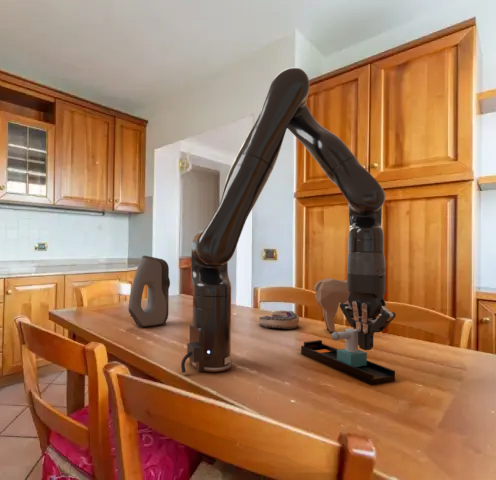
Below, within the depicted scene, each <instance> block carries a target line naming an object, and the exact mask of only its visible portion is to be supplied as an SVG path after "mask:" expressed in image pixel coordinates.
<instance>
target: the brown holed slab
mask: <svg viewBox="0 0 496 480" xmlns="http://www.w3.org/2000/svg"><path fill="white" fill-rule="evenodd" d="M145 286H147V304H146V307H145V308H144V309H143V308H142V300H143V294H144V290H145V289H144V288H145ZM170 286H171V280H170V267H169V264H168V262H167V261H166V260H164V259H163V258H159V257H155V256H149V255H142V256H141V258H140V259H139V263H138V266H137V268H136V271H135V273H134V277H133V280H132V284H131V288H130V294H129V298H128V308H127V309H128V313H129V314H130V317H131V318H132V320H133V321H134V323H135V324H136V326H139V327H141V328H149V327H156V326H162V325H163V326H166V325H167V320H168V319H169V301H170V300H169V299H170V297H169V296H170V295H169V293H170V291H169V290H170Z"/></svg>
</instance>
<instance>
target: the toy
mask: <svg viewBox="0 0 496 480" xmlns="http://www.w3.org/2000/svg"><path fill="white" fill-rule="evenodd" d="M312 290H314V291H315V292H314V293H315V294H314V297H315V300H316V302H317V304H318V306H320V307H321V310H322V316H323V320H324V324H325V328H326V331H328V332H329V334H332V333H333V332H336V326H335V316H336V314H337V312H338V309H339V307H340V304H341V303H345V302H346V301H348V296H349V292H348V291H347V279H344V280H340V279H335V278H331V277H327V278H323V279H320V280H318V281H316V283H315V284H314V286H313V289H312ZM360 317H362V316H360ZM352 329H356V328H354V327H352Z"/></svg>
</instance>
